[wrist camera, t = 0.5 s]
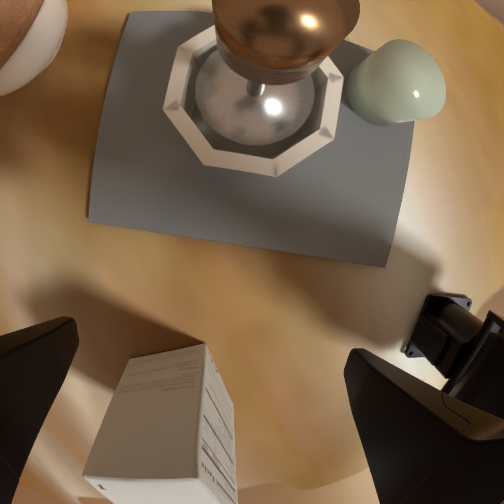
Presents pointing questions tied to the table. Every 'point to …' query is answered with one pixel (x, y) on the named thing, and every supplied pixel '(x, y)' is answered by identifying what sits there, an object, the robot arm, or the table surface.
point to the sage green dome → (396, 85)
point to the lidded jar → (29, 39)
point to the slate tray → (234, 181)
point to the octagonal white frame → (237, 155)
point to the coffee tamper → (268, 64)
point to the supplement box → (167, 434)
